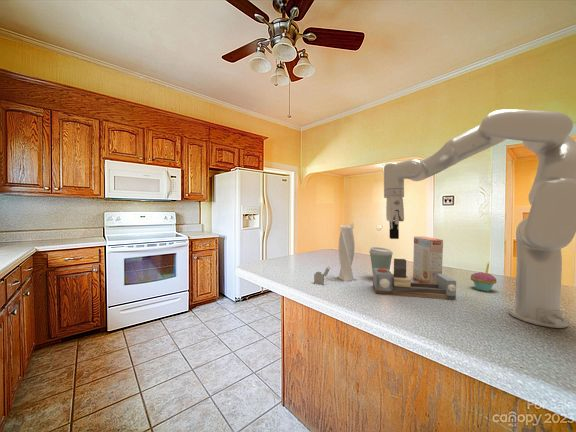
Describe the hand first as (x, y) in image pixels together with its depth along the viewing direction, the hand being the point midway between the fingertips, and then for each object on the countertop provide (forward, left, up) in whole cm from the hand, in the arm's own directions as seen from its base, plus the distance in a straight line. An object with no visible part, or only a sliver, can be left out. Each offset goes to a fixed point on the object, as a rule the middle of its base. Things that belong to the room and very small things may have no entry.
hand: (394, 238), depth 97 cm
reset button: (0, +4, -17) cm, 17 cm away
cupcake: (+11, -38, -22) cm, 45 cm away
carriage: (0, -2, -19) cm, 19 cm away
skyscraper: (+13, +18, -22) cm, 32 cm away
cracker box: (+16, -18, -22) cm, 32 cm away
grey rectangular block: (0, -19, -22) cm, 29 cm away
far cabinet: (0, +4, -22) cm, 22 cm away
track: (0, -7, -22) cm, 23 cm away
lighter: (+3, +29, -22) cm, 37 cm away
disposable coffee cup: (+17, +2, -22) cm, 28 cm away
